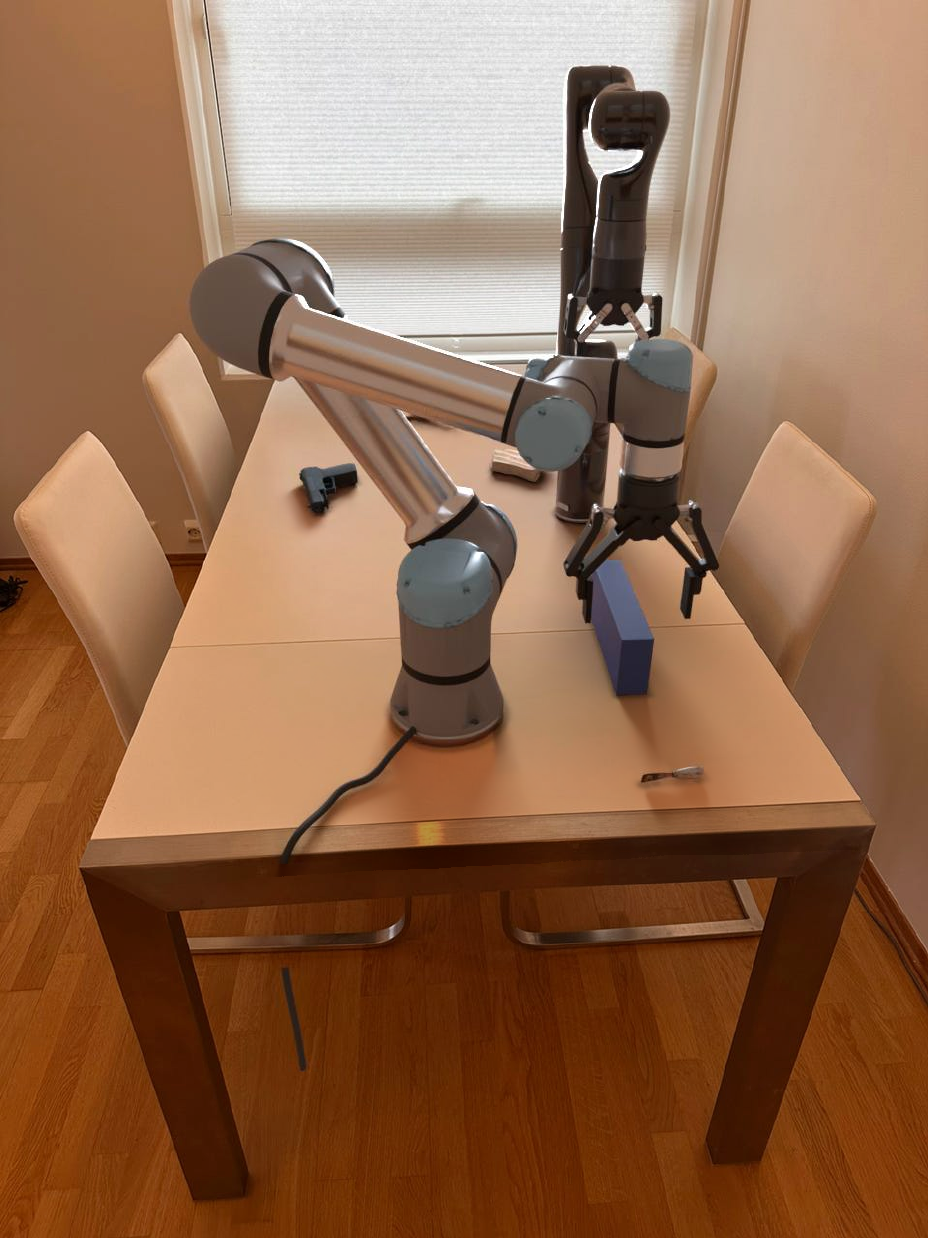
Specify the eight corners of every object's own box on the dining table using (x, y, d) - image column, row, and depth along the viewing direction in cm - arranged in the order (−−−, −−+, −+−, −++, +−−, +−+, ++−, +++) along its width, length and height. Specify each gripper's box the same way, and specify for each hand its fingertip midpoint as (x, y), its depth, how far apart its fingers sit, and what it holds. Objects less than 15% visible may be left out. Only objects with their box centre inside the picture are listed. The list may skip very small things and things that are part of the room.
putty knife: (703, 777, 109) (705, 767, 109) (642, 788, 108) (644, 777, 107) (700, 772, 110) (702, 762, 109) (639, 782, 109) (640, 771, 108)
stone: (554, 462, 195) (554, 451, 194) (536, 482, 186) (537, 471, 185) (499, 454, 200) (499, 444, 198) (479, 474, 190) (479, 463, 189)
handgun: (369, 509, 176) (308, 516, 174) (354, 474, 190) (298, 480, 188) (368, 494, 174) (307, 501, 172) (353, 460, 189) (296, 466, 186)
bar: (647, 694, 124) (654, 639, 119) (616, 695, 124) (622, 640, 119) (615, 609, 143) (620, 559, 139) (588, 610, 143) (592, 560, 138)
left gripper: (739, 455, 114) (718, 598, 125) (545, 462, 113) (541, 605, 125) (759, 478, 108) (734, 626, 119) (553, 486, 107) (548, 634, 118)
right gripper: (661, 246, 131) (649, 357, 140) (565, 248, 131) (559, 358, 139) (674, 256, 125) (661, 371, 134) (573, 257, 124) (566, 373, 133)
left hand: (635, 616), depth 122 cm, fingers open, 13 cm apart
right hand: (609, 364), depth 137 cm, fingers open, 8 cm apart
